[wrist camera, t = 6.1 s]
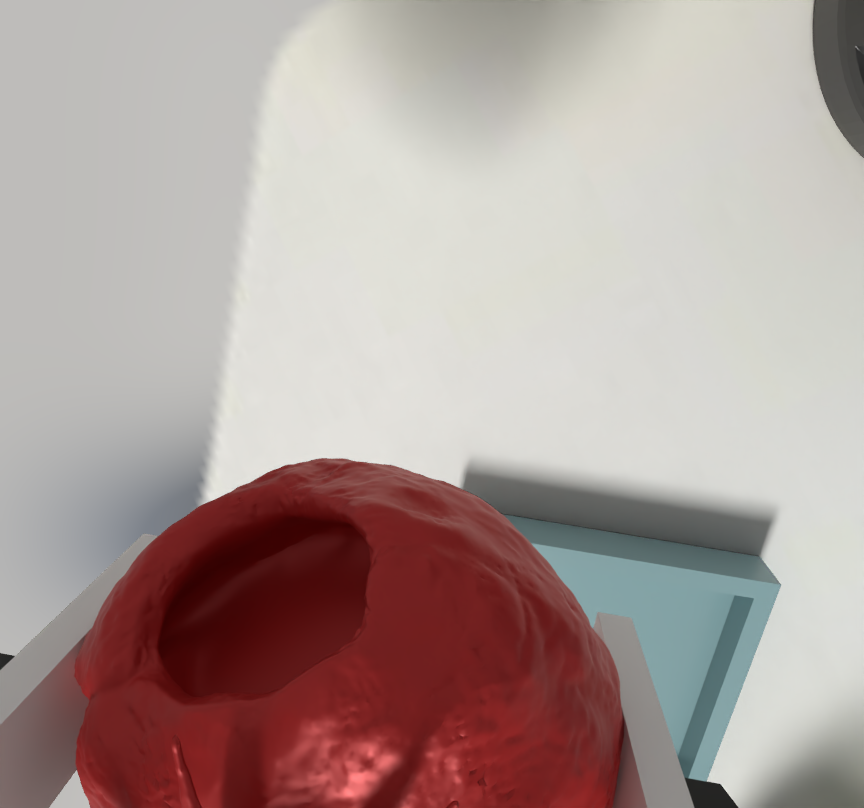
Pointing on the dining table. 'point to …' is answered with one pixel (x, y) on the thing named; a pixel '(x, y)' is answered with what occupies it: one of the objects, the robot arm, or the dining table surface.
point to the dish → (671, 619)
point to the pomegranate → (346, 657)
